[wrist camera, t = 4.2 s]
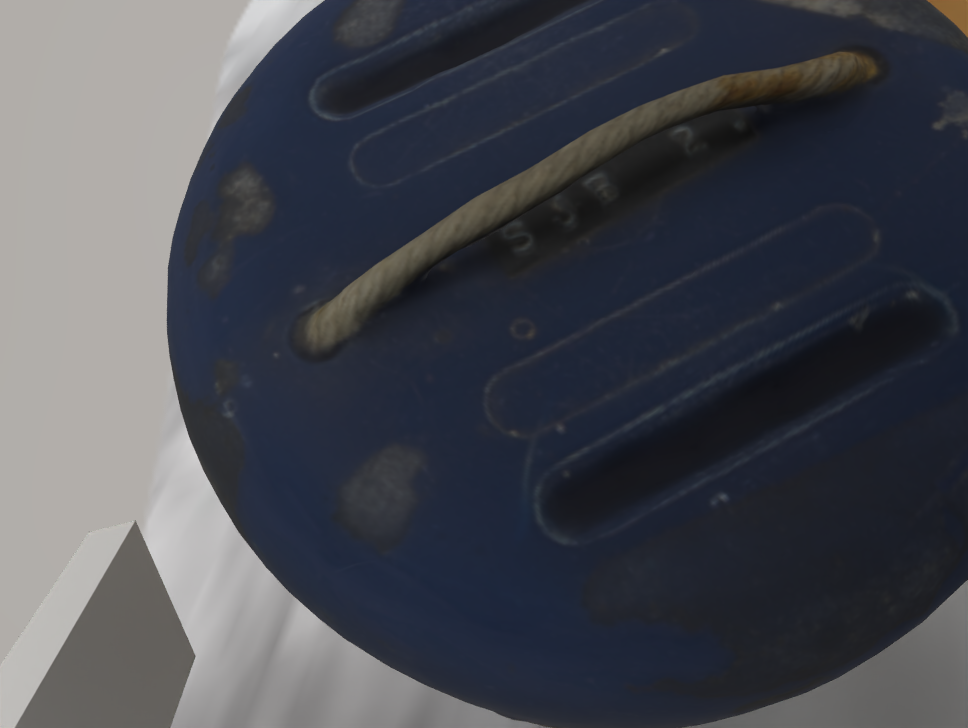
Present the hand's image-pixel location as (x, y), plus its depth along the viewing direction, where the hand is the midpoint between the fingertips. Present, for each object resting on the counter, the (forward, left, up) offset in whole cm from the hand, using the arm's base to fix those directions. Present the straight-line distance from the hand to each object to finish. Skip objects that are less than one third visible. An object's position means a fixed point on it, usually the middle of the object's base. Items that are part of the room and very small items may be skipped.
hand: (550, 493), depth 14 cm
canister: (-1, -1, -10) cm, 11 cm away
